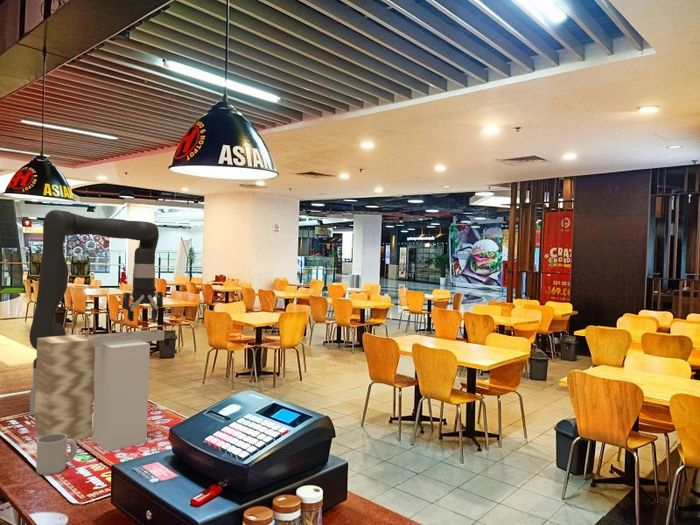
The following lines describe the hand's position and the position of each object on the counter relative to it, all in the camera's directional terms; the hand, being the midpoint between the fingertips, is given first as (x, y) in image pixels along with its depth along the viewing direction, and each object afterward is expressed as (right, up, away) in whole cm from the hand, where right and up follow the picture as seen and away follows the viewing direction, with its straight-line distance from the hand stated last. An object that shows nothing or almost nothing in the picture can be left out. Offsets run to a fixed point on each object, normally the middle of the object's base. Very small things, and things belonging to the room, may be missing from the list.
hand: (142, 320), depth 190 cm
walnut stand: (-18, -36, -20) cm, 45 cm away
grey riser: (+2, -37, -23) cm, 43 cm away
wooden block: (+4, -5, -22) cm, 23 cm away
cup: (-6, -37, -45) cm, 58 cm away
